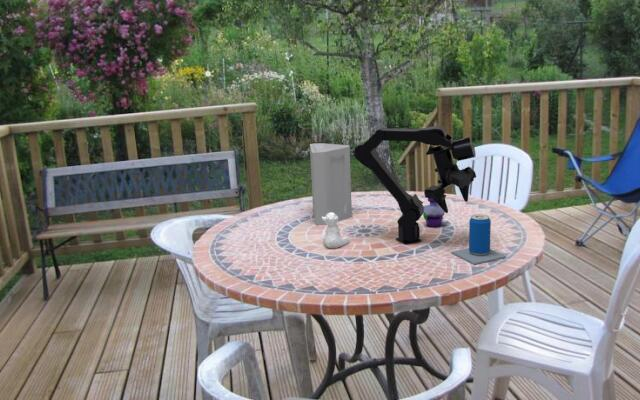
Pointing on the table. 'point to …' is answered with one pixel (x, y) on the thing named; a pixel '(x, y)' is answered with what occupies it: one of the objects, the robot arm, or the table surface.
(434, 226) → the potion bottle
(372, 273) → the table surface
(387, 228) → the table surface
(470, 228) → the beverage can
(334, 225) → the sitting furry creature
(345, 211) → the gray triangular prism
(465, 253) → the mat
